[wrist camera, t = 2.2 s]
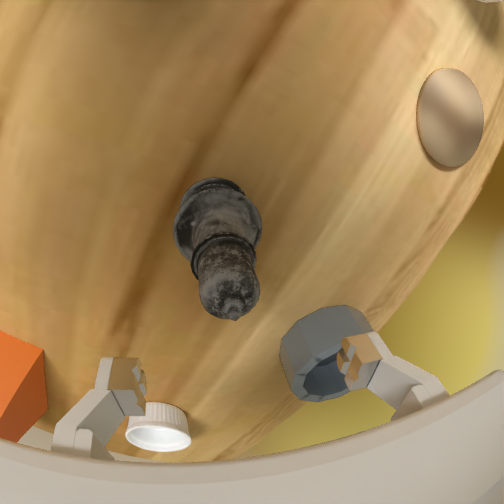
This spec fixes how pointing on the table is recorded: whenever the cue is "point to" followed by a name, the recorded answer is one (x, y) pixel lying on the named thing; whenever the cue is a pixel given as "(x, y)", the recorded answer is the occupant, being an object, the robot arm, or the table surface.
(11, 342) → the pyramid
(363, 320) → the grey faceted cup
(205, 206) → the grey chess piece
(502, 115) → the table surface
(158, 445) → the ramekin
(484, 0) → the teardrop
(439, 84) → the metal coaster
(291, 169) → the table surface
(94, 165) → the table surface
